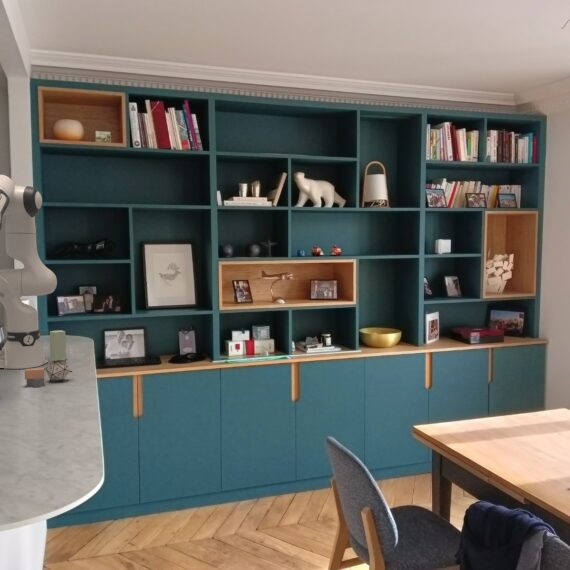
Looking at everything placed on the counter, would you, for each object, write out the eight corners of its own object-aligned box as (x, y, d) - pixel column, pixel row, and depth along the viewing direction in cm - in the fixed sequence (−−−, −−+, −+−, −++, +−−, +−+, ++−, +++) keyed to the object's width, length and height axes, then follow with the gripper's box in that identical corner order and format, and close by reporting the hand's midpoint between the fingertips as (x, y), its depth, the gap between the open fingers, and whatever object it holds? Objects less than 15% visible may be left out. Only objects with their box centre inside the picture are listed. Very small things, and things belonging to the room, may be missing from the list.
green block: (50, 359, 204) (49, 331, 204) (61, 357, 207) (61, 330, 207) (54, 360, 202) (54, 332, 201) (66, 359, 204) (65, 331, 204)
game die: (63, 390, 207) (81, 367, 209) (52, 387, 199) (70, 363, 201) (45, 376, 209) (63, 353, 211) (33, 373, 201) (52, 349, 203)
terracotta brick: (24, 379, 196) (24, 370, 195) (25, 377, 198) (25, 368, 198) (43, 378, 198) (43, 369, 197) (44, 376, 200) (44, 367, 200)
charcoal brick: (26, 385, 199) (26, 377, 199) (34, 384, 201) (34, 375, 201) (36, 388, 195) (36, 379, 195) (44, 386, 198) (44, 378, 198)
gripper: (-9, 261, 175) (26, 291, 182) (-27, 259, 190) (5, 288, 197) (-24, 276, 172) (11, 306, 179) (-42, 273, 187) (-9, 301, 194)
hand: (8, 296), depth 188 cm, fingers open, 8 cm apart
